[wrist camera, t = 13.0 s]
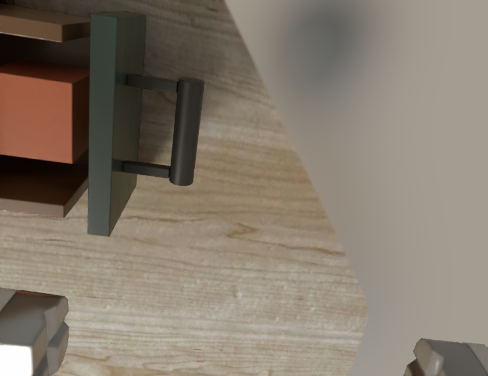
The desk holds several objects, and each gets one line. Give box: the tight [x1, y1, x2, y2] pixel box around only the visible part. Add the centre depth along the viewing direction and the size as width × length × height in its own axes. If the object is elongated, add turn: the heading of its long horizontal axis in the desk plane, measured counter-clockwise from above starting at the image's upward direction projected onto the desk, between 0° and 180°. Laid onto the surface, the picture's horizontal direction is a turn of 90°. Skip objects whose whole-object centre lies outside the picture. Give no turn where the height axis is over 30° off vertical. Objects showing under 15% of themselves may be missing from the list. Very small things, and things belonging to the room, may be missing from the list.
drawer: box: [0, 4, 204, 237], centre depth 24 cm, size 18×11×7 cm, turn 81°
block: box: [0, 59, 90, 164], centre depth 24 cm, size 4×4×5 cm
